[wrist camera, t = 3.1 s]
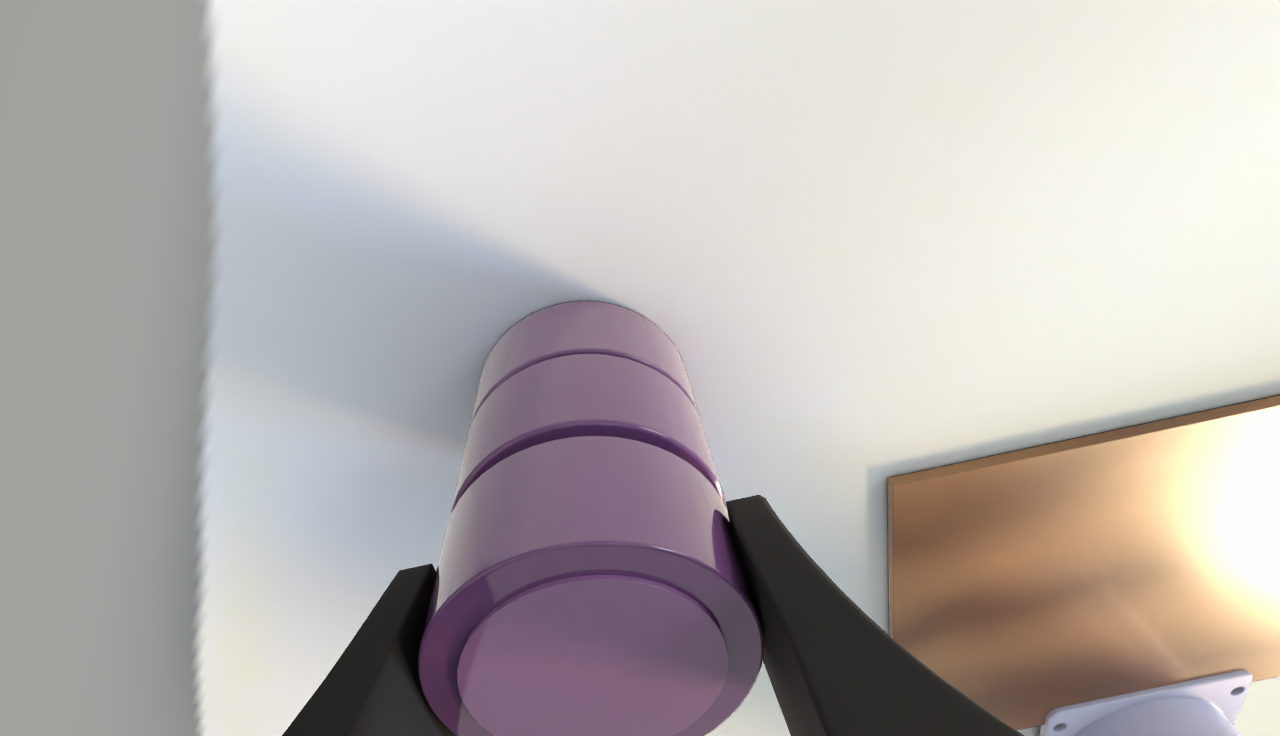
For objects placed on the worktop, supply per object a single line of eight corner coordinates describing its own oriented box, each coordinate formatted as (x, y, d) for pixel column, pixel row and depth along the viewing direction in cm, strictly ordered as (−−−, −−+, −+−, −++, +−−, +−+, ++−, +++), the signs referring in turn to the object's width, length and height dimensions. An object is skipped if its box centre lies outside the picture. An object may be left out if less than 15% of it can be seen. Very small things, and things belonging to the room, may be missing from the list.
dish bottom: (701, 453, 19) (719, 519, 17) (513, 493, 19) (506, 564, 17) (668, 278, 16) (685, 327, 14) (451, 326, 16) (432, 381, 14)
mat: (1437, 633, 27) (1449, 642, 26) (889, 746, 27) (893, 756, 27) (1626, 321, 20) (1645, 327, 19) (886, 477, 20) (892, 485, 20)
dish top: (745, 617, 14) (781, 741, 12) (493, 669, 14) (479, 803, 12) (710, 405, 12) (746, 512, 9) (400, 471, 12) (357, 594, 9)
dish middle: (719, 519, 17) (744, 606, 14) (506, 564, 17) (496, 658, 14) (685, 327, 14) (708, 395, 12) (432, 381, 14) (404, 460, 12)
